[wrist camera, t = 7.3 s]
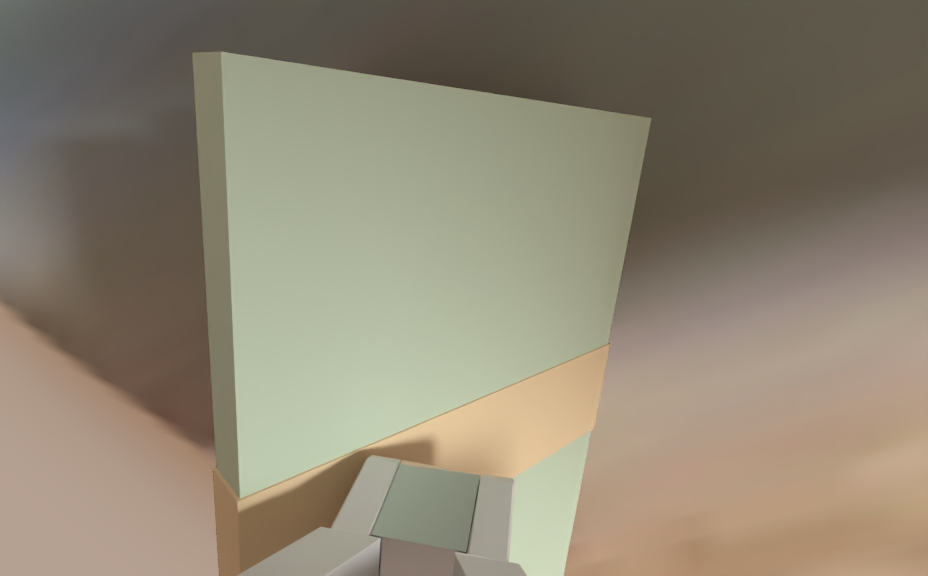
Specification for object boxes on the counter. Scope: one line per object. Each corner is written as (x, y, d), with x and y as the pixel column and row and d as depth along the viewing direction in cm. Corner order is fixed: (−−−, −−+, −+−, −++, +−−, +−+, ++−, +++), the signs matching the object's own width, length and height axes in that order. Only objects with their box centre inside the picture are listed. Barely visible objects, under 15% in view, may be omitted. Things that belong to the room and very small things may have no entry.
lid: (187, 51, 6) (217, 50, 5) (619, 115, 12) (654, 118, 11) (234, 824, 10) (253, 871, 9) (540, 568, 16) (563, 587, 15)
